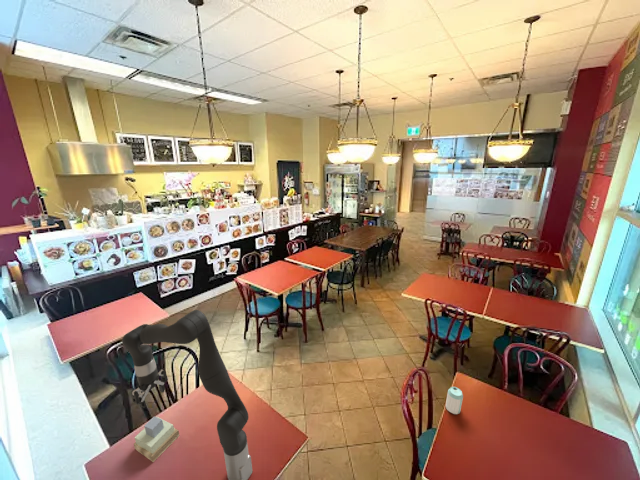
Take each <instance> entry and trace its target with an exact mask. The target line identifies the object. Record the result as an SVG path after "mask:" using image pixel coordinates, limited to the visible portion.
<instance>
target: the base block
mask: <svg viewBox="0 0 640 480" xmlns="http://www.w3.org/2000/svg"><path fill="white" fill-rule="evenodd" d="M179 437H180V432H179V429H177V428H175V427H174V432H173V433H172V434H171V435H170V437H169V438H168V439H167V440H166V441H165V442H164V443H163V444H162V445H161V446H160V447H159V448H158V449H157V450H156V451H155V452H154V453H153V454H152V453H150V452H149V451H147V450H145V449H144V448H142V447H140V446H139V445H137V444H136V441H135V442H134V443H133V447H134V450H136V451H137V452H138V453H140V454H141V455H142V456H144V457H145V458H147V459H148V460H149V461H151V462H152V463H154V462H155V461H156V460H157V459H158V458H159V457H160V456H161V455H162V454H163V453H164V452H165V451H166V450H167V449H168V448H169V447H170V446H171V445H172V444H173V443H174V442H175V441H176V440H177V439H178V438H179Z"/></svg>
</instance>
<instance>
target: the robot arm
mask: <svg viewBox="0 0 640 480" xmlns="http://www.w3.org/2000/svg"><path fill="white" fill-rule="evenodd" d="M196 339H197V342H198V347H199V353H198V354H199V355H198V356H199V357H198V366H197V367H198V368H197V371H198V376H199V379H200V381H201V383H202V385H203V388H204V389H205V391H206V392H208V393H210V394H212V395H213V396H217V397H219V398H222V399H223V400H224V402H225V404H226V405H227V410H226V411H225V412H224V413H223V414H222V416H221V417H220V418H219V420H218V421H217V423H216V430H217V431H216V432H217V434H218V439H219V443H220V445H221V447H222V449H223V456H224V463H225V469H226V470H225V471H226V474H227V475H226V476H227V480H248V479H250V477H251V475H252V473H253V472H254V471H253V462H252V456H251V455H250V453H249V446H248V445H249V444H248V439H247V438H248V436H247V432H245V430H244V428H245V426H246V424H247V423H248V420H249V413H248V410H247V408H246V406H245V404H244V402H243V400H242V399H241V397H240V395H239V394H238V392H237V390H236V388H235V386H234V384H233V381H232V379H231V378H230V375H229V372H228V370H227V368H226V365H225V363H224V361H223V359H222V357H221V353H220V351H219V349H218V347H217V344H216V341H215V338H214V335H213V331H212V329H211V325H210V322H209V320H208V318H207V316H206V315H205V314H204V313H203V312H202V311H201V310H199V309H195V310H192V311H190V312H189V313H187V314H185V315H184V316H182V317H181V318H179V319H178V320H177V321H176V322H174V323H172V324H171V325H169V326H168V325H166V324H164V323H156V324H148V323H143V324H141V325H139V326H137V327H136V328H133V329H132V330H130V331H128V332H127V333H125V334H124V335H123V336H122V341H121V343H122V345H123V346H124V348H125V349H126V350H127V352H128V353H129V354H130V356H131V358H132V362H133V365H134V367H133V368H134V373H135V374H134V375H135V377H136V381H137V383H138V387H137V388H136V389H132V390H131V391H130V393H131V398H132V403H134V404H135V405H139V407H141V408H146V407H147V404H146V399H145V398H146V396H148V393H149V392H150V391H151V390H152V389H154V388H155V387H156V385H158V389H159V391H160V393H164V392H165V390H166V388H165V382H168V380H169V378H168V375H167V372H166V370H164V369H162V368H160V369H159V371H158V367H157V363H156V360H155V357H154V354H153V349H152V347H151V346H150V345H151V344H157V343H169V344H179V345H188V344H190V343H192V342H194V341H195V340H196ZM143 344H144V345H143ZM159 378H161V380H159Z"/></svg>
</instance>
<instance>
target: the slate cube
mask: <svg viewBox="0 0 640 480" xmlns="http://www.w3.org/2000/svg"><path fill="white" fill-rule="evenodd" d="M157 417H158V416H153V417H152V418H150V419H149V420H148V422H146V424H145V425H143V426H144V427H143V428H145V431H146V434H147V435H149V436H151V437H153V438H155V437H156V436H157V435H158V434H159V433H160V432H161V430H162V429H163V428H164V426H163V421H162V418H161V419H159V418H160V417H159V418H157Z"/></svg>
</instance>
